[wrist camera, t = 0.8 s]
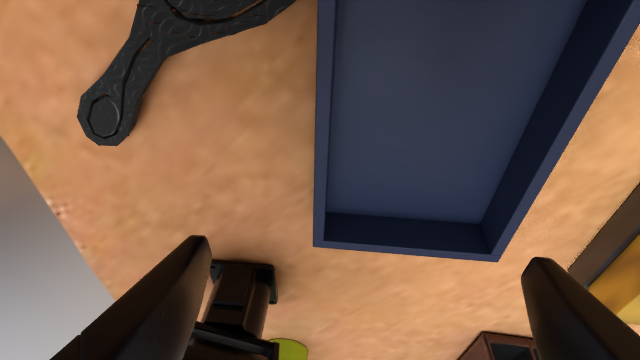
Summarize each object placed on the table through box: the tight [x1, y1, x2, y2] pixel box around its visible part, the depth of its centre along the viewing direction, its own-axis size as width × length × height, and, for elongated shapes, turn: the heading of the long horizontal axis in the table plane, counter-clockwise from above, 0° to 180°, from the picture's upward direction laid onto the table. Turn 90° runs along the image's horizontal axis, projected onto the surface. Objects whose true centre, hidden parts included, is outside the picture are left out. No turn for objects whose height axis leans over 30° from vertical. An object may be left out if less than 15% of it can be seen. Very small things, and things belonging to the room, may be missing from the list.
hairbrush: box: [77, 0, 296, 146], centre depth 18 cm, size 8×4×25 cm
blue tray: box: [313, 0, 640, 262], centre depth 21 cm, size 19×14×4 cm
